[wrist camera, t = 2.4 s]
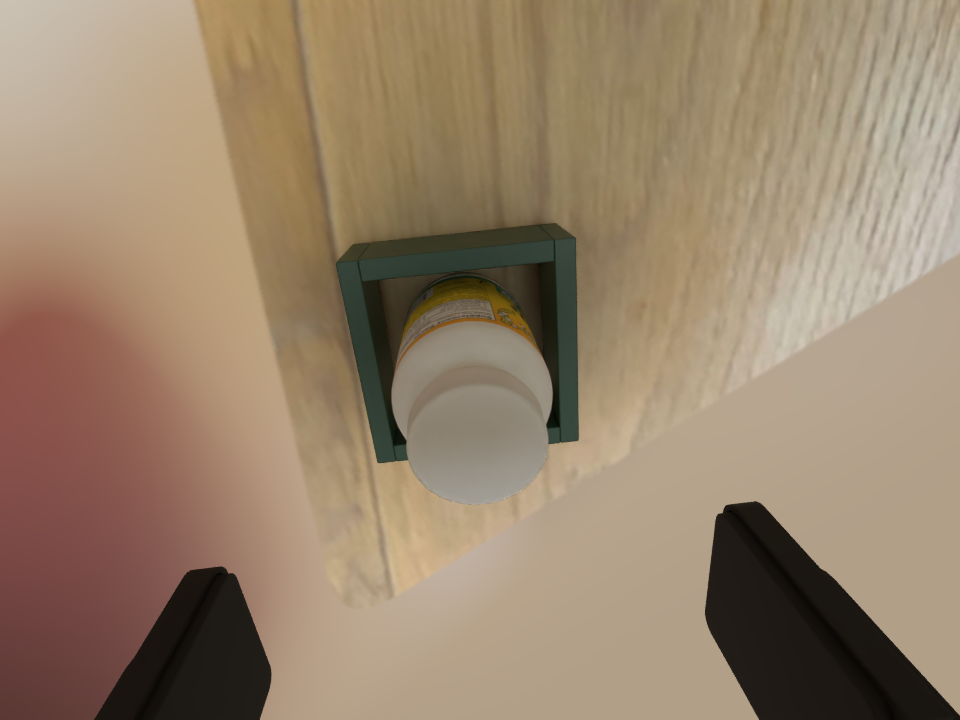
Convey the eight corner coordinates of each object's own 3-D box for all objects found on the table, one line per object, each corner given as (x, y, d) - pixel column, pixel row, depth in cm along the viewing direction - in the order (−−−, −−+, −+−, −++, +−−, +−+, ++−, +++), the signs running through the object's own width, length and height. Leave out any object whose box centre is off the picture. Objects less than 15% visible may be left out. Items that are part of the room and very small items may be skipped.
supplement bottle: (394, 281, 21) (358, 376, 13) (516, 261, 21) (565, 343, 13) (419, 391, 24) (402, 537, 15) (530, 372, 24) (579, 508, 15)
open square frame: (352, 244, 21) (335, 262, 18) (556, 222, 21) (576, 237, 18) (386, 421, 24) (377, 463, 21) (561, 402, 24) (579, 441, 21)
